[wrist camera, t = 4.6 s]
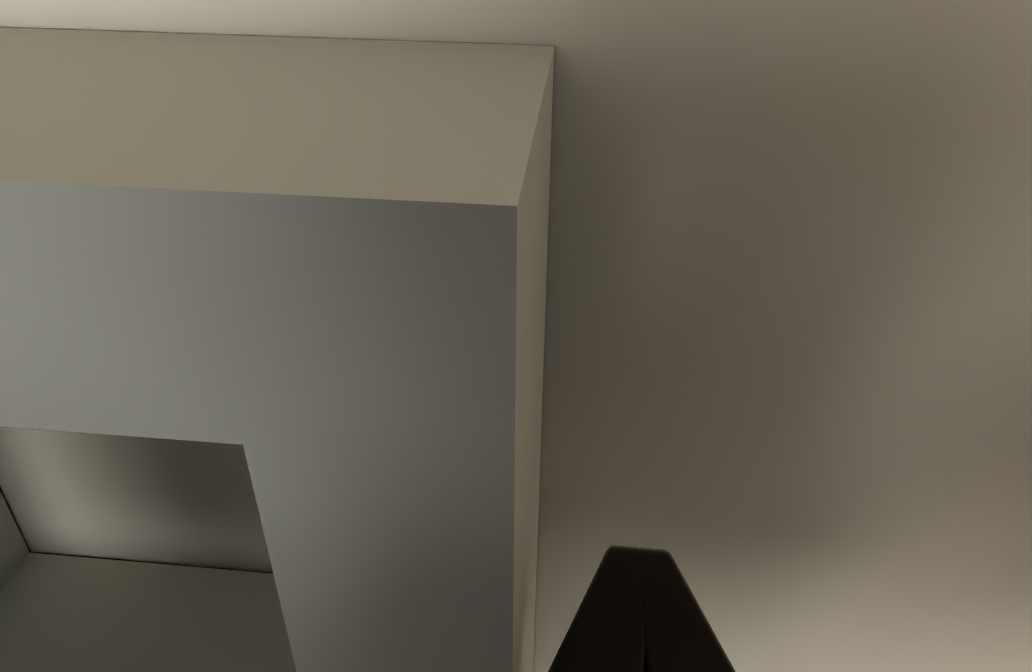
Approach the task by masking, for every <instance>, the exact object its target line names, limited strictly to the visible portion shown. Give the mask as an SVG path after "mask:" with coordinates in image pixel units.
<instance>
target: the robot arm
mask: <svg viewBox="0 0 1032 672" xmlns="http://www.w3.org/2000/svg"><path fill="white" fill-rule="evenodd" d="M548 672H735V670H734V668H733V666H732V664H731V663H730V661H729V659H728V657H727V655H726V654H725V652H724V650H723V648H722V646H721V644H720V643H719V641H718V639H717V637H716V635H715V634H714V632H713V630H712V628H711V626H710V624H709V623H708V621H707V619H706V617H705V615H704V614H703V612H702V610H701V608H700V606H699V604H698V603H697V601H696V599H695V597H694V595H693V594H692V592H691V590H690V588H689V586H688V584H687V583H686V581H685V579H684V577H683V575H682V574H681V572H680V570H679V568H678V566H677V564H676V563H675V561H674V559H673V557H672V556H671V554H670V553H669V552H668V551H666V550H662V549H650V548H637V547H627V546H615V545H614V546H610V547H609V548H608V549H607V551H606V553H605V555H604V557H603V559H602V561H601V563H600V565H599V567H598V569H597V571H596V573H595V575H594V578H593V580H592V582H591V584H590V586H589V588H588V590H587V592H586V594H585V596H584V598H583V600H582V603H581V605H580V607H579V609H578V611H577V613H576V615H575V617H574V619H573V621H572V623H571V625H570V627H569V630H568V632H567V634H566V636H565V638H564V640H563V642H562V644H561V646H560V648H559V650H558V652H557V654H556V657H555V659H554V661H553V663H552V665H551V667H550V669H549V671H548Z"/></svg>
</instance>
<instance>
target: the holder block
mask: <svg viewBox="0 0 1032 672" xmlns="http://www.w3.org/2000/svg"><path fill="white" fill-rule="evenodd" d="M553 75H554V46H544V45H515V44H485V43H455V42H426V41H396V40H366V39H337V38H307V37H277V36H248V35H218V34H188V33H158V32H129V31H99V30H69V29H40V28H10V27H0V427H12V428H25V429H39V430H52V431H66V432H79V433H93V434H106V435H120V436H133V437H147V438H160V439H174V440H187V441H201V442H214V443H228V444H241V445H243V448H244V453H245V457H246V461H247V465H248V469H249V474H250V478H251V482H252V486H253V490H254V495H255V499H256V503H257V507H258V511H259V516H260V520H261V524H262V528H263V533H264V537H265V541H266V545H267V549H268V554H269V558H270V562H271V566H272V570H273V574H271V573H259V572H248V571H236V570H225V569H213V568H202V567H190V566H178V565H167V564H155V563H144V562H132V561H121V560H109V559H98V558H86V557H75V556H63V555H51V554H40V553H30V552H29V550H28V548H27V546H26V544H25V542H24V540H23V538H22V535H21V533H20V531H19V529H18V527H17V525H16V523H15V521H14V519H13V517H12V515H11V512H10V510H9V508H8V506H7V504H6V502H5V500H4V498H3V496H2V494H1V492H0V672H533V667H534V638H535V608H536V579H537V549H538V519H539V490H540V460H541V431H542V401H543V371H544V342H545V312H546V283H547V253H548V223H549V194H550V164H551V135H552V105H553Z"/></svg>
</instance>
